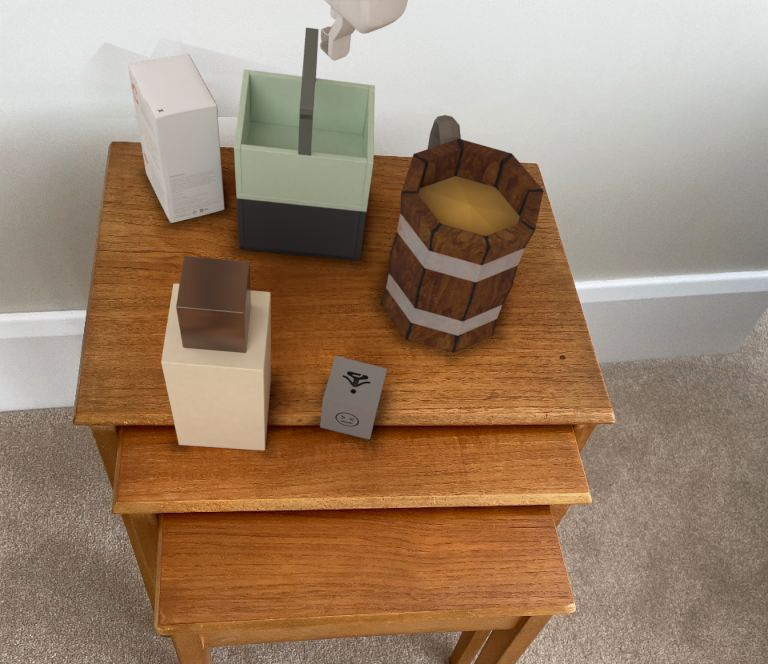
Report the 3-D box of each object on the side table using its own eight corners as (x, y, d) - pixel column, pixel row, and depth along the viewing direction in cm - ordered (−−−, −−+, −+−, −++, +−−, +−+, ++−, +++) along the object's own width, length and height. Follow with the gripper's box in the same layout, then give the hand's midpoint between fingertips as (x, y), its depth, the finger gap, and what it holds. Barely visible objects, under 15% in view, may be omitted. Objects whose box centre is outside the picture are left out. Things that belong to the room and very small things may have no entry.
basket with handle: (236, 198, 77) (231, 99, 68) (245, 122, 82) (242, 18, 72) (366, 212, 79) (380, 116, 69) (368, 136, 84) (381, 36, 74)
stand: (178, 445, 73) (160, 362, 61) (188, 374, 76) (173, 282, 65) (265, 451, 74) (263, 370, 62) (270, 380, 77) (270, 291, 66)
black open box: (239, 249, 84) (236, 198, 77) (247, 175, 88) (245, 122, 82) (359, 261, 85) (366, 212, 79) (361, 188, 90) (368, 136, 84)
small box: (226, 211, 86) (218, 105, 74) (169, 225, 84) (153, 118, 72) (199, 160, 89) (188, 51, 77) (144, 172, 87) (125, 62, 75)
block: (182, 348, 62) (175, 306, 58) (189, 298, 64) (183, 255, 60) (246, 353, 63) (244, 312, 58) (251, 304, 65) (249, 261, 60)
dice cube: (380, 398, 78) (387, 368, 74) (370, 439, 76) (376, 412, 71) (331, 385, 78) (335, 355, 73) (319, 427, 76) (322, 398, 71)
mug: (514, 349, 83) (561, 246, 69) (390, 355, 80) (413, 250, 67) (477, 211, 91) (512, 94, 77) (363, 213, 88) (379, 93, 75)
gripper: (167, -269, 51) (188, -43, 63) (364, -102, 45) (345, 108, 58) (248, -285, 53) (253, -64, 65) (444, -128, 48) (409, 80, 60)
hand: (297, 18), depth 62 cm, fingers open, 8 cm apart
